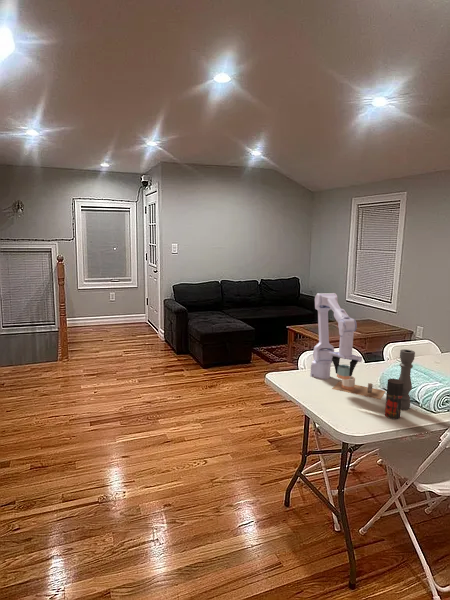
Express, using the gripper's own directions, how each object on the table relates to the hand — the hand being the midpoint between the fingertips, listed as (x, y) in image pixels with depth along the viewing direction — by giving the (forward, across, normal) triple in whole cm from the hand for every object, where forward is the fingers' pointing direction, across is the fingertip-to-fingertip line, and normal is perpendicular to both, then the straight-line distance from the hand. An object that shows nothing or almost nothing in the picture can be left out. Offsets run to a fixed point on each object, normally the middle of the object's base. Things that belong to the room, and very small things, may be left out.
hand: (343, 374), depth 186 cm
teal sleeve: (+1, 0, 0) cm, 1 cm away
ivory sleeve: (+9, 0, +9) cm, 13 cm away
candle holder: (+11, +25, +3) cm, 27 cm away
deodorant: (+11, +23, -9) cm, 27 cm away
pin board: (+10, +5, +9) cm, 14 cm away
